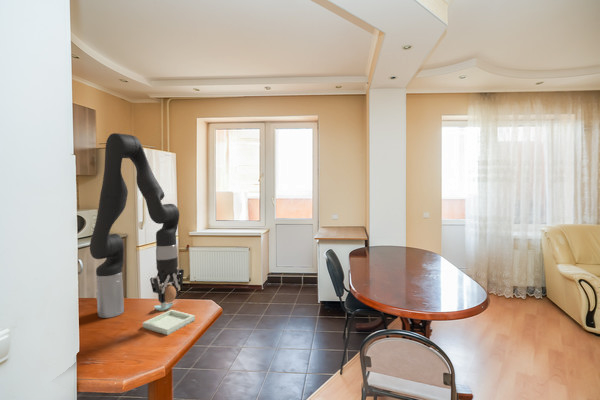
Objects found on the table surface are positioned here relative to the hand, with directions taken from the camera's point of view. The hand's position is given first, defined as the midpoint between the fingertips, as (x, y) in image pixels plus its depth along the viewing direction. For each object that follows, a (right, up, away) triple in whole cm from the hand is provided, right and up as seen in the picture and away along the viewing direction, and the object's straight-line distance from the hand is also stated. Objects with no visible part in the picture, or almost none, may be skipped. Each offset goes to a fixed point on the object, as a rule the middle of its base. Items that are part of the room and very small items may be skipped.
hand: (168, 299), depth 121 cm
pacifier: (-8, -9, +15) cm, 19 cm away
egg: (0, -1, 0) cm, 1 cm away
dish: (0, -10, +1) cm, 10 cm away
